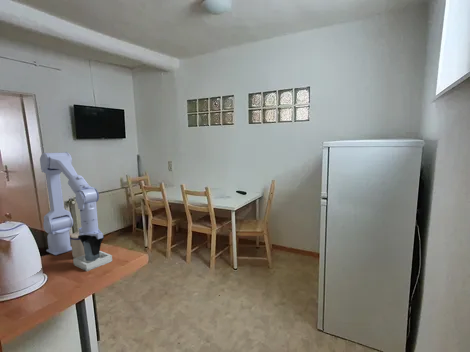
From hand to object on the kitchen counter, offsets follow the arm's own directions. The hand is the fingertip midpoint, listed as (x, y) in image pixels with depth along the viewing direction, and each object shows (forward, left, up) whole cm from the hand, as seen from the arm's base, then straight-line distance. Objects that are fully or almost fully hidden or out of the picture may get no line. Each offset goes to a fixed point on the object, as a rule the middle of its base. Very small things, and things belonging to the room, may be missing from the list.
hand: (92, 252), depth 104 cm
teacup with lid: (-13, +4, -4) cm, 14 cm away
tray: (0, 0, -4) cm, 4 cm away
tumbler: (0, 0, -2) cm, 2 cm away
